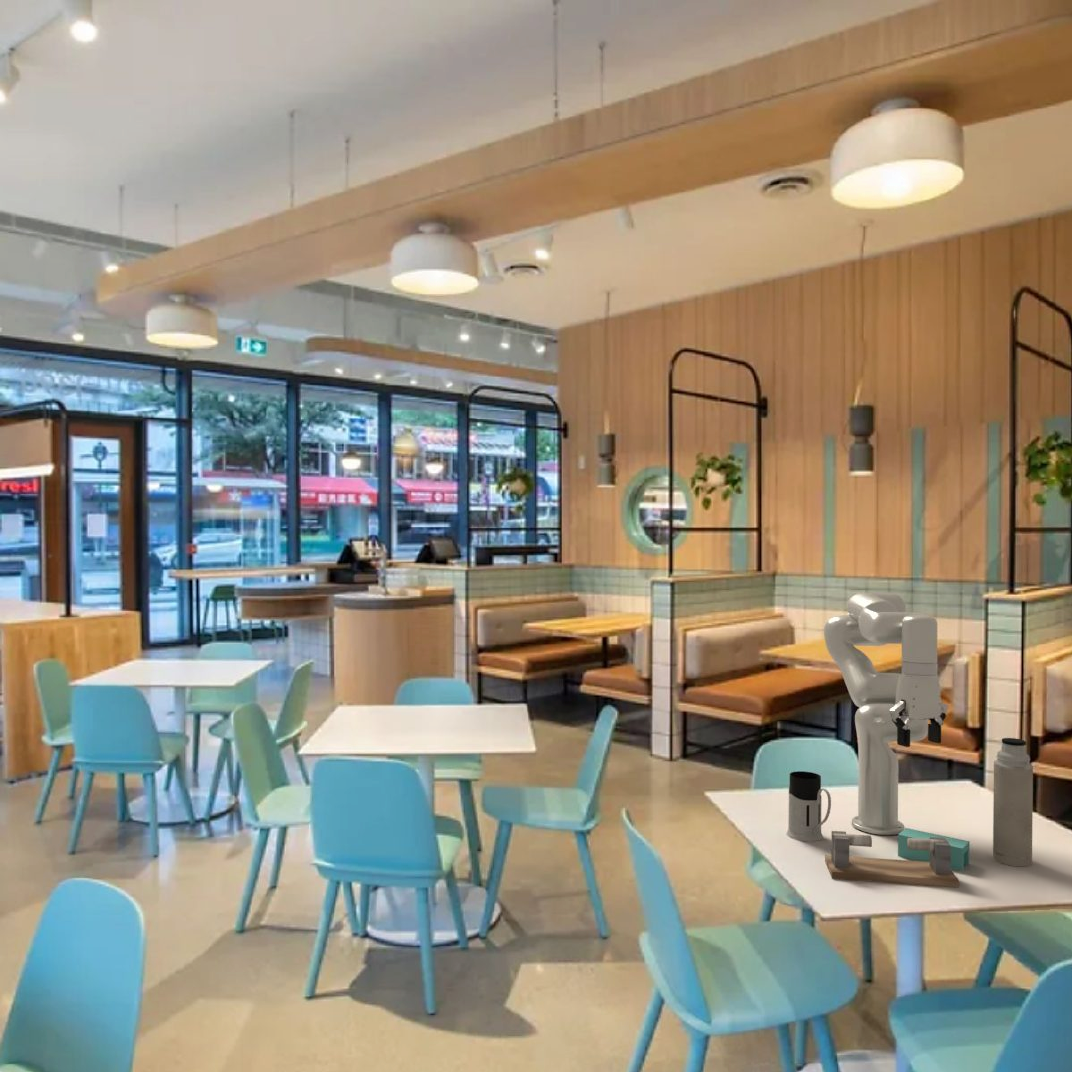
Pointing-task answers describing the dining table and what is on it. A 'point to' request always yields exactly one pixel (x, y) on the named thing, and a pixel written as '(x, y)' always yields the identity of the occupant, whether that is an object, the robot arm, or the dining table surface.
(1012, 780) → the thermos bottle
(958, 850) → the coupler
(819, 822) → the glass holder
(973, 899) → the dining table surface
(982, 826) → the dining table surface
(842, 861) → the shaft stand
